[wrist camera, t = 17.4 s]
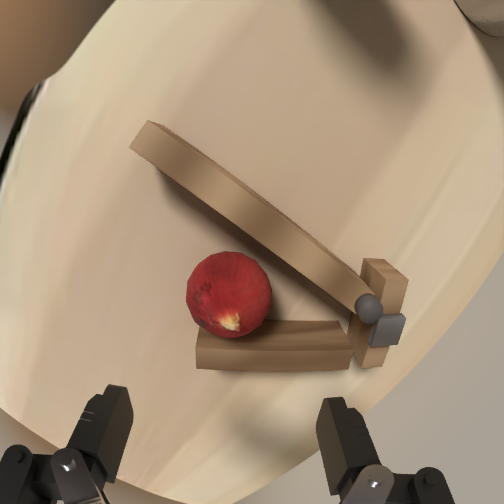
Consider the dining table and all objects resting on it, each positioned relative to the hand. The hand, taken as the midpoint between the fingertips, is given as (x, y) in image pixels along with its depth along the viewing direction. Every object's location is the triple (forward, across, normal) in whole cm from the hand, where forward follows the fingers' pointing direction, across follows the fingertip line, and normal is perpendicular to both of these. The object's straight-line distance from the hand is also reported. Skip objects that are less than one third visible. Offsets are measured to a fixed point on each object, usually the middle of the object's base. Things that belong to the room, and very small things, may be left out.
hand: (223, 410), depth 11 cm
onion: (+14, 0, 0) cm, 14 cm away
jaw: (+14, -2, -5) cm, 15 cm away
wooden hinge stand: (+14, -5, +2) cm, 15 cm away
